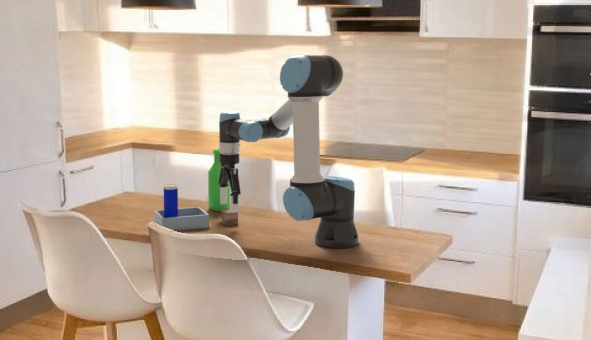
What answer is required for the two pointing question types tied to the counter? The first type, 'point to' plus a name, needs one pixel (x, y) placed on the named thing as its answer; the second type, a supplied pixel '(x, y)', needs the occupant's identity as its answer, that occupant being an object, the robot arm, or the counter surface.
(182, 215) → the box
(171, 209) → the beverage can
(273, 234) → the counter surface
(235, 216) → the walnut cube
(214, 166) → the bottle
